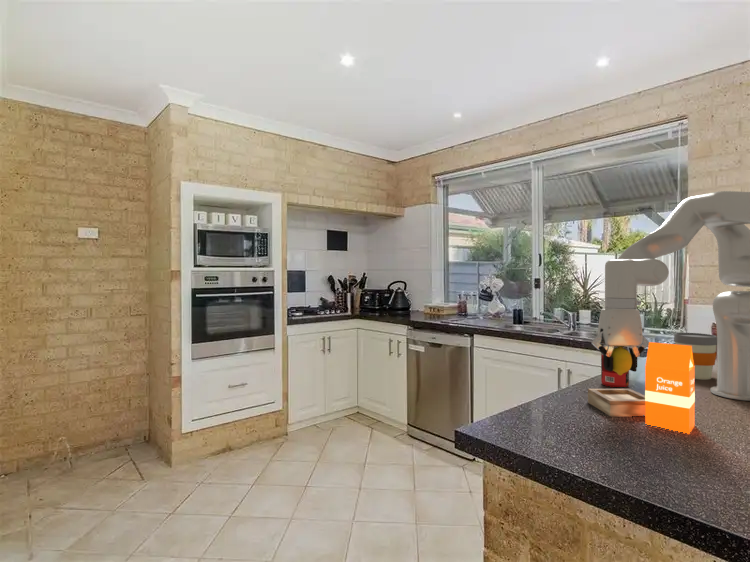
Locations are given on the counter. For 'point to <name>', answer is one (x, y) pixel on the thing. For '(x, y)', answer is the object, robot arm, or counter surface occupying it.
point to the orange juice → (670, 387)
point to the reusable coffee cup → (700, 351)
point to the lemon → (621, 360)
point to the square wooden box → (617, 401)
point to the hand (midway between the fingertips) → (620, 369)
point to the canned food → (613, 377)
